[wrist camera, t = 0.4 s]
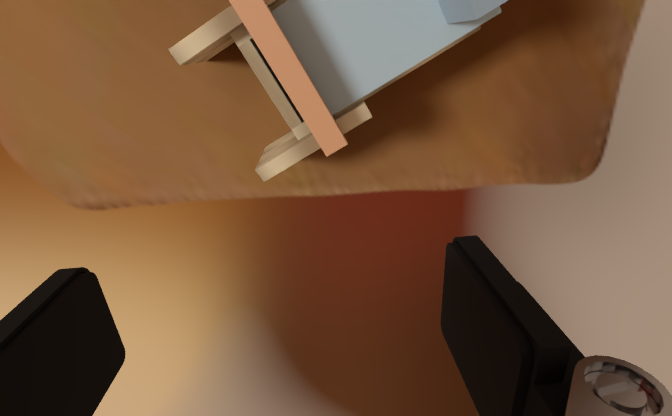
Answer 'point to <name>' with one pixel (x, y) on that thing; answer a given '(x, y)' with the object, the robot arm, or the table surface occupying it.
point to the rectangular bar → (290, 73)
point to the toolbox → (273, 86)
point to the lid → (372, 39)
